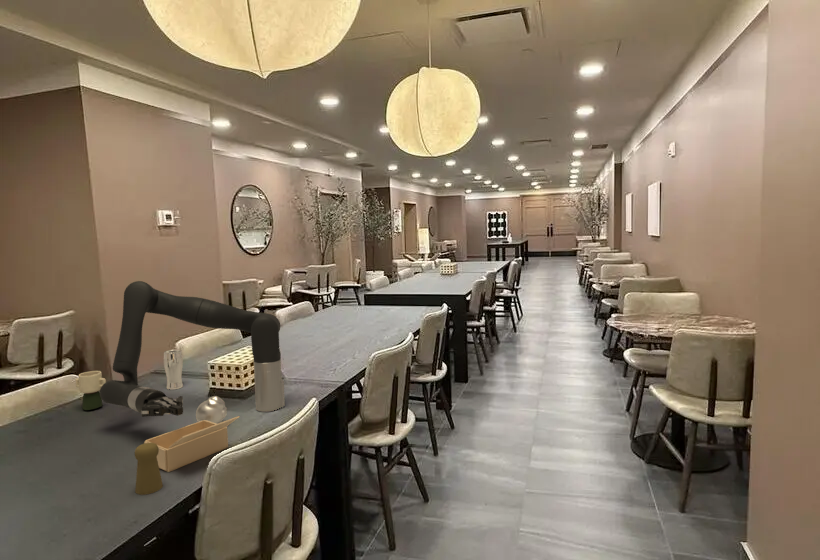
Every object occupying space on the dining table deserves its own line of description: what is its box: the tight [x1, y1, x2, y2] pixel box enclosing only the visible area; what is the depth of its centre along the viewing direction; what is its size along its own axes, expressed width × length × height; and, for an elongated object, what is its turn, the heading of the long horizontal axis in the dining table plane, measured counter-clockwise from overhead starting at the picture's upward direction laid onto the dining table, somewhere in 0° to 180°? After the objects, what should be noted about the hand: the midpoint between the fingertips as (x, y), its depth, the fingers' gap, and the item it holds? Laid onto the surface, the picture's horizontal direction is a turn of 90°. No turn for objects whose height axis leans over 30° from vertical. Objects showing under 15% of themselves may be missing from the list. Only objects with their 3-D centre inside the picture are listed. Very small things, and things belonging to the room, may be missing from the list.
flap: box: [169, 415, 241, 448], centre depth 136 cm, size 17×1×8 cm
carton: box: [143, 420, 229, 473], centre depth 142 cm, size 19×12×6 cm, turn 146°
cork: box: [134, 443, 164, 496], centre depth 123 cm, size 6×6×11 cm
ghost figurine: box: [195, 395, 228, 424], centre depth 162 cm, size 9×10×10 cm
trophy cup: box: [75, 370, 107, 411], centre depth 181 cm, size 11×7×13 cm, turn 88°
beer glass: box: [163, 349, 184, 391], centre depth 205 cm, size 7×7×15 cm
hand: (180, 411), depth 142 cm, fingers closed
